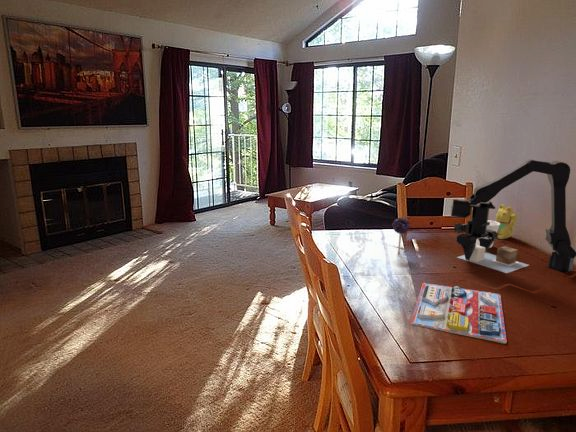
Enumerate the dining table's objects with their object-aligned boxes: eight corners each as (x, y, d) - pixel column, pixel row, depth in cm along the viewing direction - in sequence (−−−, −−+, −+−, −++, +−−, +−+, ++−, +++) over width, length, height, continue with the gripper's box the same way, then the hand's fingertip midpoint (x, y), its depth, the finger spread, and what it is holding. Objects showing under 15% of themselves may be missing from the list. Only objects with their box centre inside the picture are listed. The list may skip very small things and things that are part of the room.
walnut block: (515, 262, 157) (517, 249, 156) (508, 264, 155) (510, 251, 153) (502, 258, 161) (504, 246, 160) (495, 260, 159) (497, 248, 158)
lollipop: (405, 251, 170) (409, 216, 166) (408, 256, 163) (412, 220, 160) (388, 250, 170) (391, 215, 167) (391, 256, 164) (394, 219, 160)
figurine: (486, 234, 197) (490, 203, 194) (500, 233, 200) (505, 203, 196) (504, 241, 187) (509, 208, 183) (519, 239, 189) (524, 208, 186)
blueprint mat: (529, 266, 155) (529, 264, 155) (506, 274, 146) (506, 273, 146) (479, 252, 171) (479, 250, 171) (456, 258, 162) (456, 257, 162)
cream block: (483, 259, 159) (485, 247, 158) (476, 262, 157) (478, 249, 156) (472, 256, 163) (473, 244, 162) (464, 258, 161) (466, 246, 160)
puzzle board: (422, 285, 137) (423, 278, 136) (499, 298, 128) (500, 290, 127) (409, 326, 110) (410, 317, 109) (506, 346, 101) (508, 337, 100)
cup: (501, 251, 173) (504, 225, 170) (477, 250, 173) (480, 225, 170) (490, 243, 182) (493, 219, 180) (467, 243, 183) (470, 219, 180)
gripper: (474, 212, 168) (469, 248, 172) (445, 217, 158) (441, 256, 161) (500, 217, 159) (495, 256, 163) (472, 223, 149) (467, 264, 152)
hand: (474, 258), depth 160 cm, fingers open, 9 cm apart
